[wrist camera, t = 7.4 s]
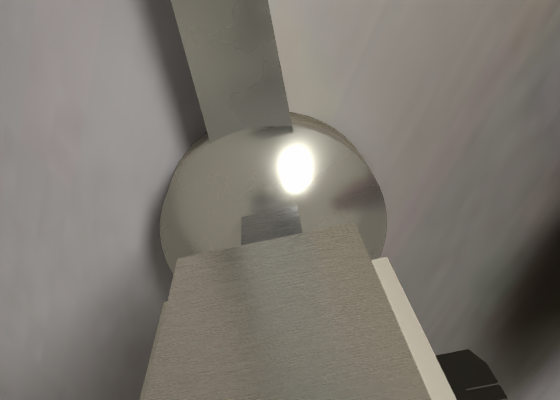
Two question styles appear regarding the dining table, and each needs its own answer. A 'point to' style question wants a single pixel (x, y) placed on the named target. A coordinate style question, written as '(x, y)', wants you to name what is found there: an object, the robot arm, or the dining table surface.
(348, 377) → the white rectangular block
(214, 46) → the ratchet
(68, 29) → the dining table surface
